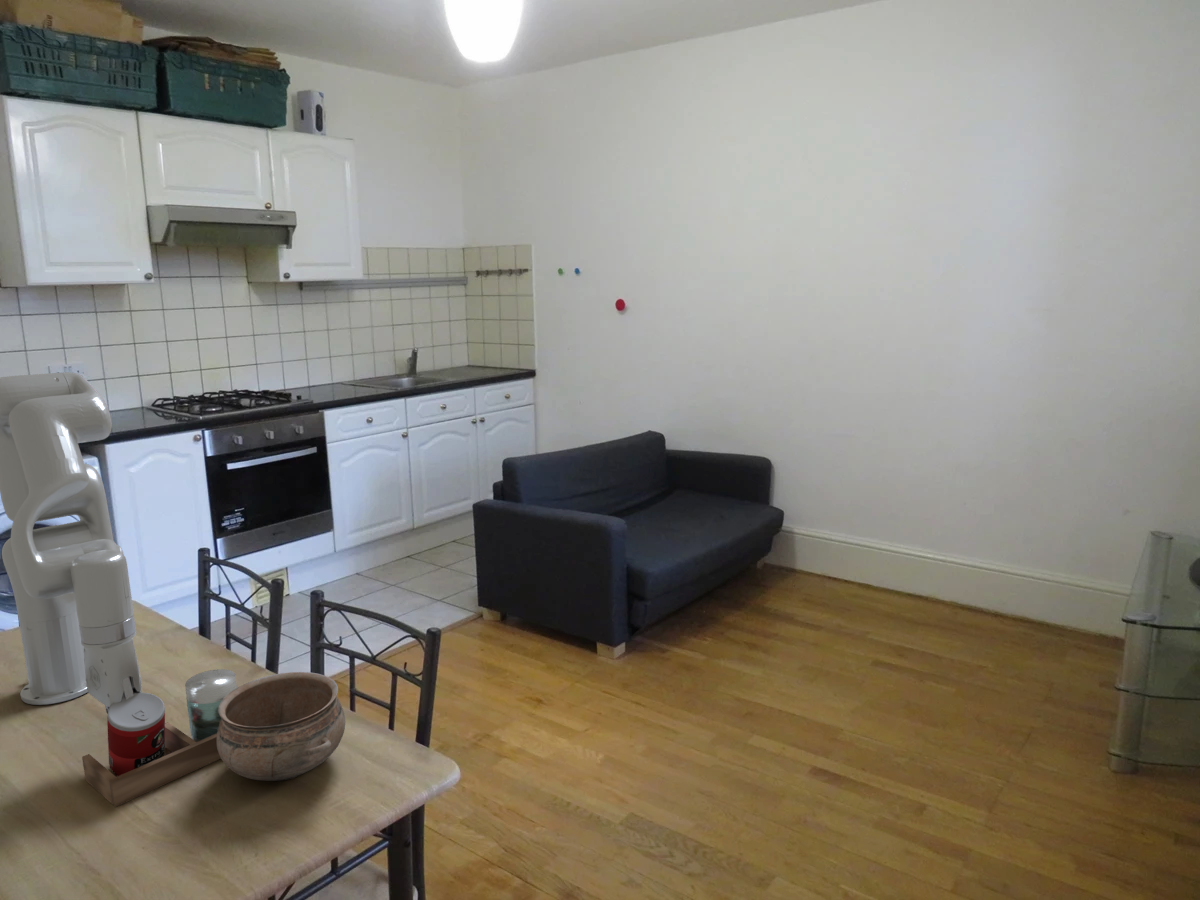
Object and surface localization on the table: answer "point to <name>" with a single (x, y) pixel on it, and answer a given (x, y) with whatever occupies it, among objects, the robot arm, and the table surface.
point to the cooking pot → (280, 725)
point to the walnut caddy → (153, 767)
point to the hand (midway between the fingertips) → (123, 736)
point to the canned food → (135, 732)
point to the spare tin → (207, 700)
